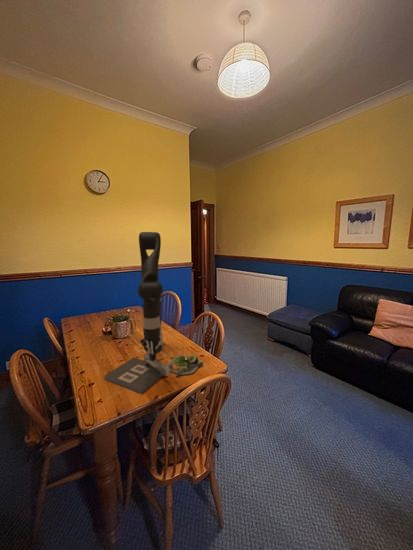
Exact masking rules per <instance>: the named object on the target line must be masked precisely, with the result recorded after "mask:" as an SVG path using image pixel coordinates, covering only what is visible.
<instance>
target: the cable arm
mask: <svg viewBox="0 0 413 550" xmlns="http://www.w3.org/2000/svg"><path fill="white" fill-rule="evenodd" d="M143 360H144V361H145V362H148V363H149V364H151V365H152V366H153V367H155V368H156V369H157V370H159V371H160V372H161V373H163V374H164V375H163V376H169V375H170V374H171V371H170V368H169V367H168V366H167V364H166V363H163V362H162V361H160V360H159V359H158V358H156V359H155V360H154V361H150V358H149V353H148V352H147V353H144V354H143Z"/></svg>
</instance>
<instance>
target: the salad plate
mask: <svg viewBox="0 0 413 550" xmlns="http://www.w3.org/2000/svg"><path fill="white" fill-rule="evenodd" d="M185 358H187V360H185ZM174 363H175V364H174ZM173 364H174V365H176V367H177V369H178V370H177V369H174V367H173V366H174V365H173ZM203 364H204V361H201V360H200V359H199V358H198V356H197V355H196V354H191V355H189V356H188V355H184V354H183V355H182V354H181V355H177V356H175V357H174V358H173V359H172V360H171V361H169V363H167V364H166V366H168V367H169V368H170V373H173V374H175V377H177V376H182V375H190V374H193V373H195V371H197V369H198V368H199V367H200V366H202V365H203Z"/></svg>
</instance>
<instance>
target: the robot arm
mask: <svg viewBox="0 0 413 550" xmlns="http://www.w3.org/2000/svg"><path fill="white" fill-rule="evenodd" d="M161 242H162V241H161V235H160V233H159V232H157V231H141V232H139V234H138V243H139V244H138V245H139V253H140V254H139V255H140V263H141V265H140V266H141V267H140V268H141V280H140V283H139V285H138V287H137V293H138V294H137V295H138V296H139V297H140V298H141V299H142V311H143V312H142V314H143V315H142V316H143V317H142V329H143V330H142V332H143V338H142V339H140V341H139V342H140V344H141V345H142V347H143V349H144V350H145V352H147V353H149V358H150V361H154V360H155V359H157V354H158V353H160V352H161V351H162V349H163V348H164V347H165V343H164V342H163V333H162V300H161V299H162V295H163V290H164V289H163V287H164V286H163V285H162V283H160V282H159V262H160V256H161V255H160V254H161V244H162V243H161ZM147 250H148V251H149V250H150V251H152V252H151V254H148V252H147Z"/></svg>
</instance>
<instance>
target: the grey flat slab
mask: <svg viewBox="0 0 413 550" xmlns="http://www.w3.org/2000/svg"><path fill="white" fill-rule="evenodd" d="M164 376H165V375H164V374H163V373H161V372H160V371H159V370H157V369H156V368H155V367H153V366H152V365H151V364H149V363H148V362H145V361H144V359H140V358H137V357H132V358H130V359H128V360H127V361H125V362H124V363H122V364H121V365H119V366H118V367H116V368H114V369H112V370H111V371H109V372H108V373H106V374H105V375H104V380H105V381H108V382H109V383H113V384H116V385H118V386H120V387H123V388H125V389H128V390H131V391H133V392H136V393H138V394H140V393H141V395H143V394H142V393H146V392H147V391H148V389H150V388H149V387H152V386H153V385H155V383H156V382H158V381H159V380H160V379H161V378H162V377H164Z"/></svg>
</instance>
